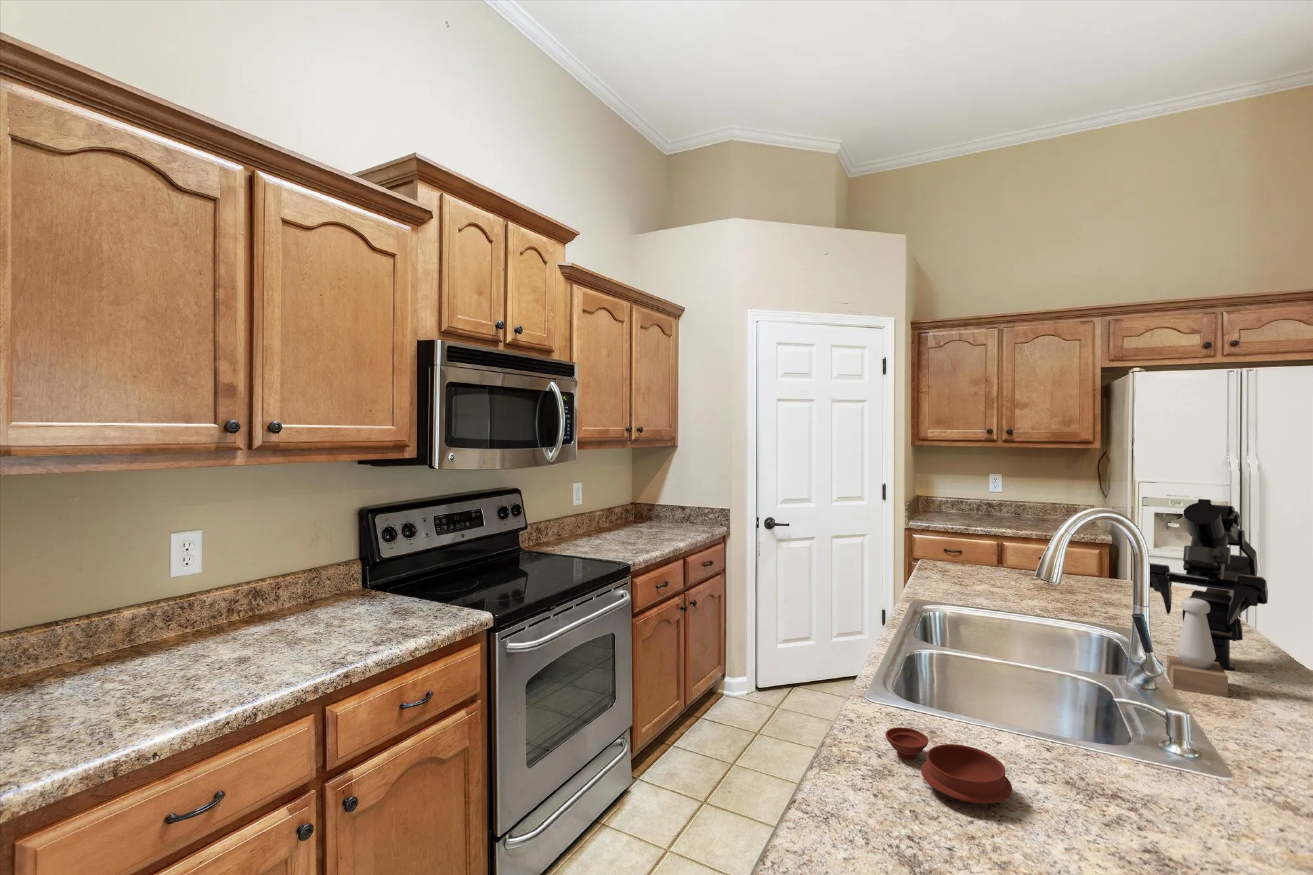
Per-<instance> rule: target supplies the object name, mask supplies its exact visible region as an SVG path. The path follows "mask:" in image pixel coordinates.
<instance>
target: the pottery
mask: <svg viewBox="0 0 1313 875" xmlns="http://www.w3.org/2000/svg"><path fill="white" fill-rule="evenodd" d="M885 737H886V740H887V742H888V743H889V744H890V746H891V748H893V749H894V750H895V751H896V755H897V756H898V757H899V758H900V759H903V760H907V761H912V760H915V759H917V758H918V754H920V753H922V751H923V750H925V748H926V747H927V746H928V744H929V738H928V736H927V735H926V734H924V733H922V732H921V731H919V730H916V729H913V728H909V727H902V726H901V727H900V726H899V727H892V728H889V729H888V730H886V731H885ZM920 773H921V775H922V778H923V779H924V781H925V782H926V783H927V784H928V785H930V787H932V788H933V789H935V790H936V791H938V792H939V793H941V794H944V795H946V796H948V797H950V798H953V799H955V800H957V801H960V802H963V803H966V804H978V805H979V804H996V803H1000V802H1003V801H1006V800H1007V799H1008V798H1010V797H1011V795H1012V794H1013V785H1012V783H1011V781H1010V780H1009V778H1007V776H1006V768H1005V766H1004V764H1003V762H1002V761H1000V760H999V759H998V758H996V757H995V756H993V755H992V754H990V753H988V752H986V751H984V750H981V749H980V748H975V747H972V746H968V745H963V744H955V743H954V744H953V743H948V744H947V743H946V744H939V745H935V746H933V747H931V748H930V749H928V750H927V753H926V761H924V762H923V764H922V765H921V769H920Z"/></svg>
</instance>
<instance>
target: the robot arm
mask: <svg viewBox="0 0 1313 875" xmlns="http://www.w3.org/2000/svg"><path fill="white" fill-rule="evenodd" d="M1183 517H1184V522H1185V524H1186V529H1187V532H1188V534H1189V536H1190V537H1191V542H1190V544H1189V545H1187V544H1186V545H1184V547H1183V556H1182V557H1183V559H1182V561H1183V566H1182V567H1183V568H1182V569H1183V571H1185V573H1181V572H1174V571H1171V570H1170V569H1171V568H1170V565H1168V564H1161V563H1153V562H1148V563H1149V564H1150V587H1149V588H1152V589H1153V591H1154V592H1157V593H1160V595H1161V597H1162V599H1163V605H1164V607H1165V612H1166V614H1167V615H1170V614H1171V611H1172V596H1173V592H1172V585H1173V583H1176V584H1183V585H1184V584H1185V585H1190V586H1197V587H1201V588H1206V590H1197V589H1195V590H1193V591H1192V592H1191V594H1190V596H1189V597H1188V598H1197V599H1201V600H1205V601H1207V602H1208V603H1209V604H1210V612H1209V613H1207V614H1206V616H1207V620H1208V625H1209V629H1210V633H1211V637H1212V642H1213V646H1214V650H1215V654H1216V659H1215V661H1214V662H1218V663H1219V664H1220V666H1221V667H1222V669H1223V670H1232V671H1235V670H1236V667H1235V665H1234V664H1233V663H1232V661H1231V650H1230V649H1231V647H1230V646H1231V645H1230V644H1231V643H1230V642H1231V641H1232V642H1237V641H1243V637H1244V636H1243V626H1242V620H1241V619H1240V617H1239V616H1240V615H1241V614H1242V613H1243V612H1245V610H1247V609H1249V608H1250V607H1251V606H1252V607H1257V606H1258V605H1259V604H1261V605H1267V604H1268V600H1269V589H1268V583H1267V580H1266V579H1265V578H1264V577H1263V576H1258V570H1259V569H1258V557H1257V551H1256V550H1255V549H1254V548H1253V547H1252V546H1251V545H1250V543H1249V542H1247V540H1246V534H1245V530H1242V529H1240V528H1239V527H1240V525H1241V524H1242V522H1243V521H1242V520H1243V519H1242V516H1241V514H1240V513H1239V511H1237V510H1236V509H1235V507H1234V506H1233V505H1225V504H1212V500H1211V499H1206V498H1198V499H1197V502H1195V503H1192V504H1189V505H1188V506H1186V507H1185V508H1184V510H1183ZM1229 546H1235V547H1239V548H1240V550H1241V552H1243V553H1244V555H1238V554H1231V547H1229ZM1185 612H1186V611H1184V610H1183V609H1182V623H1183V622H1184V617H1185Z"/></svg>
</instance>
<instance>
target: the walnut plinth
mask: <svg viewBox="0 0 1313 875" xmlns="http://www.w3.org/2000/svg"><path fill="white" fill-rule="evenodd" d="M1166 676H1167V678H1168V680H1169V683H1170V685H1171V687H1172V688H1173V689H1174V690H1179V691H1186V692H1192V693H1197V692H1198V694H1203V695H1209V694H1210V695H1211V696H1217V697H1221V696H1223V697H1224V698H1229V676H1228V674H1227V673H1226V671H1225V669H1223V668H1222V667H1221V666H1220V664H1219V663H1218V662H1213V664H1212V665H1211V667H1210V668H1207V669H1199V668H1193V667H1189V666H1187V665H1184V664H1183V663H1182V661H1181V659H1180V657H1179V656H1176V655H1169V654H1168V655H1166Z"/></svg>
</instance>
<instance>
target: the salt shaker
mask: <svg viewBox="0 0 1313 875" xmlns="http://www.w3.org/2000/svg"><path fill="white" fill-rule="evenodd" d="M1180 604H1181V605H1180V606H1181V608H1182V611H1183V610H1184V611H1186V612H1185V617H1184V622H1183V621H1182V625H1181V626H1182V627H1181V631H1180V634H1179V640H1178V643H1177V648H1176V652H1177V654H1178V657H1180V659H1181V661H1182V663H1183V664H1184V665H1187V666H1189V667H1193V668H1199V669H1207V668H1210V667H1211V665H1212V664H1213V662H1214V661H1215V659H1216V654H1215V650H1214V646H1213V642H1212V637H1211V633H1210V629H1209V625H1208V620H1207V616H1206V614H1207V613H1209V612H1210V604H1209V603H1208V602H1207V601H1205V600H1201V599H1197V598H1189V597H1186V598H1183V599H1182V600H1181V602H1180Z"/></svg>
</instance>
